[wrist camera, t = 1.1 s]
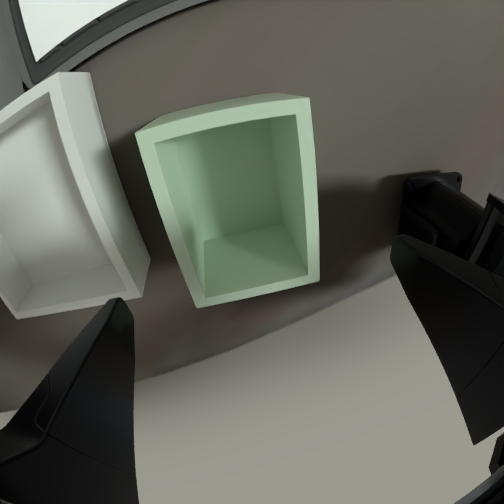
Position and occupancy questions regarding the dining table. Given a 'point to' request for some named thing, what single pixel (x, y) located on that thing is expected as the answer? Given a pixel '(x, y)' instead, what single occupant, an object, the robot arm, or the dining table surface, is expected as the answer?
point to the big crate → (63, 205)
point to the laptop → (65, 35)
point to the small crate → (237, 194)
